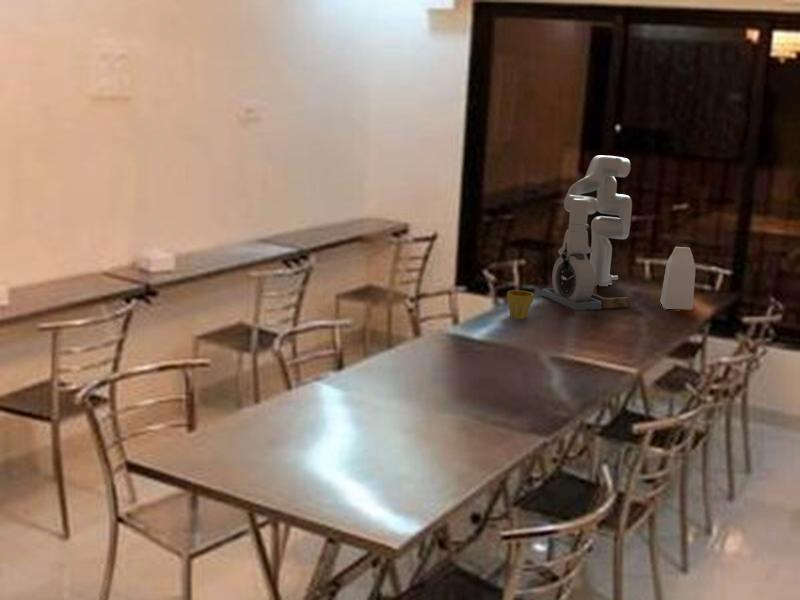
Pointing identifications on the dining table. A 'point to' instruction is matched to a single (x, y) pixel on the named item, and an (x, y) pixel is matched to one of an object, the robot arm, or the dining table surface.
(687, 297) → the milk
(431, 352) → the dining table surface
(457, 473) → the dining table surface
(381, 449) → the dining table surface
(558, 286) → the alarm clock
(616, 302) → the walnut stall
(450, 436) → the dining table surface
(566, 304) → the slate tray
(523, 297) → the plant pot
